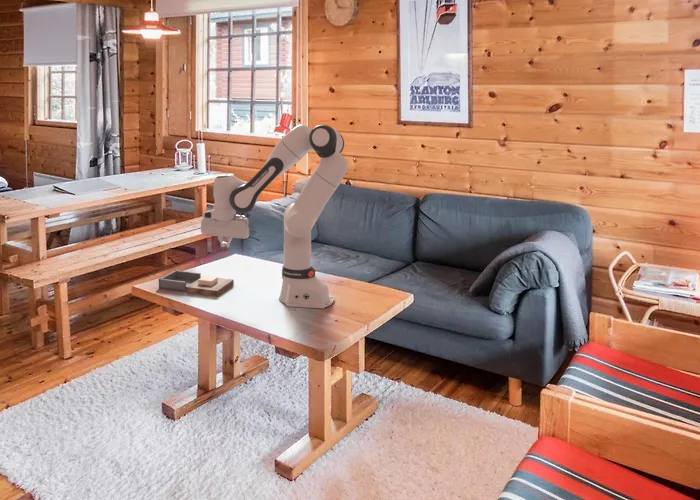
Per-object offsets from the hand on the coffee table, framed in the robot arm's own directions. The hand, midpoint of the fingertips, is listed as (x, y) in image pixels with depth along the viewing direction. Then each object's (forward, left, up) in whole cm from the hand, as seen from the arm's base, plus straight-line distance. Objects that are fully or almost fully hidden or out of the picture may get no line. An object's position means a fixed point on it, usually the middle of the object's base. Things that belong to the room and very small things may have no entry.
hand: (225, 246), depth 263 cm
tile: (+8, 0, -17) cm, 18 cm away
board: (+7, 0, -19) cm, 20 cm away
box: (+21, 0, -19) cm, 28 cm away
